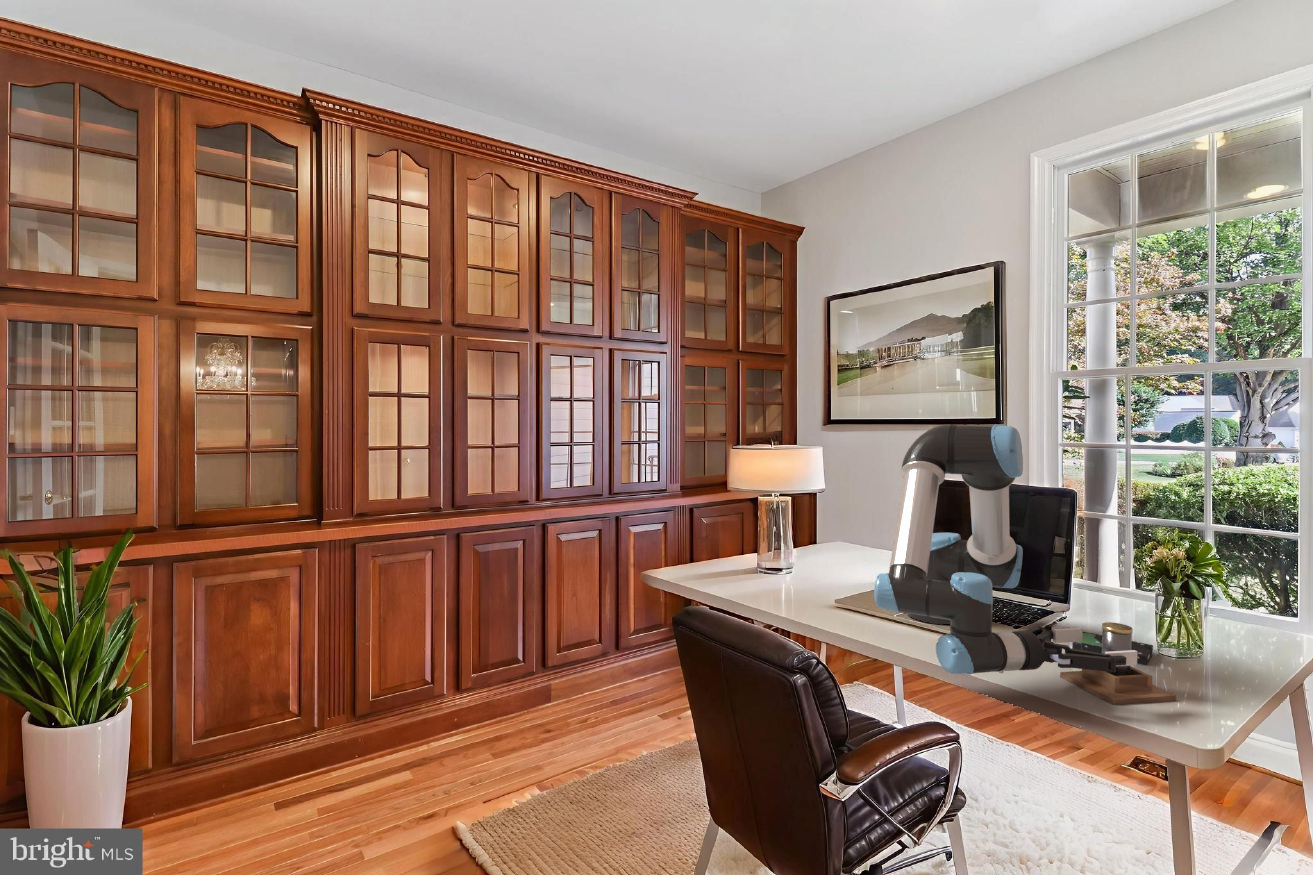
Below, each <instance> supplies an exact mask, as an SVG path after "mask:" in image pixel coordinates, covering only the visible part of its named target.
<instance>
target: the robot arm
mask: <svg viewBox="0 0 1313 875" xmlns="http://www.w3.org/2000/svg"><path fill="white" fill-rule="evenodd" d="M1023 471H1024V454H1023V445H1022V438H1021V435H1020V432H1019V431H1018V429H1017V428H1016V427H1014V426H1011V425H1000V424H994V425H992V424H991V425H989V424H983V425H982V424H941V425H937V426H933V427H932V428H929V429H928V430H927V431H925V432H923V433H922V434H921V435H919V436H918V438H916V439H915V441H913V443H912V444H911V446H909V448H908V449H907V451H906V453H905V455H904V457H903V460H902V463H901V470H900V474H901V477H902V478H903V479H904V480H903V485H902V489H901V490H902V493H901V496H900V503H899V509H898V515H897V521H896V527H895V534H894V538H893V539H894V540H893V546H892V551H891V557H890V563H889V570H888V573H886V572H885V573H878V575H877V576H876V579H875V581H874V582H875V583H874V592H873V593H874V594H873V595H874V603H875V605H876V606H877V607H878V608H879V609H881V610H885V611H889V612H893V613H896V614H899V613H901V614H906V615H907V614H908V615H909V616H910V617H909V616H908V615H907V616H908V617H909V618H911V617H912V618H911V619H913V618H914V619H913V620H916V619H917V620H916V621H919V620H921V621H920V622H922V621H923V622H924V623H927V622H929V623H928V624H934V625H943V624H950V626H949V633H946V634H943V635H940V636H939V637H938V638H937V642H936V644H935V654H936V657H937V660H938V663H939V664H940V666H941V667H942V669H943V670H944V671H946V672H947V673H949V674H954V675H959V674H962V675H963V674H964V675H972V674H980V673H981V674H983V673H997V672H998V673H1000V674H1004V672H1013V671H1035V670H1038V669H1039V668H1041V666H1042V665H1043V663H1044V662H1045V663H1051V664H1052V663H1057V668H1061V669H1077V670H1082V669H1087V670H1096V671H1106V672H1116V666H1131V667H1132V666H1137V665H1138V664H1137V651H1135V650H1128V651H1111V652H1105V654H1103V653H1097V652H1090V651H1084V650H1078V649H1072V647H1070V646H1069V645H1068V644H1061V643H1073V642H1081V641H1082V634H1083V632H1084V629H1083V628H1081V627H1076V628H1075V627H1073V628H1072V627H1071V628H1055V629H1052V628H1053V627H1052V625H1050V624H1045V626H1044V627H1045V628H1044V627H1043V626H1041V625H1036V626H1033V627H1031V628H1028V629H1025V630H1015V631H1008V630H1007V631H993V630H992V629H993V611H994V610H993V609H994V608H993V606H994V605H993V604H994V598H993V596H994V594H993V593H994V592H993V588H999V589H1003V588H1004V589H1014V588H1016V587H1017V586H1018V585H1019V583H1020V578H1021V571H1022V565H1023V556H1024V555H1023V554H1024V553H1023V551H1024V550H1023V547H1022V545H1019V544H1017V543H1016V542H1015V540H1014V538H1013V537H1011V535H1010V532H1011V531H1010V486H1011V485H1012V484H1013V483H1014V482H1015V480H1016V479H1017V477H1018V478H1019V477H1022V475H1023ZM947 474H949V475H960V476H961V478H962V480H963V482H964V483H965V484H966V485H967V486H968V488H969V502H970V518H971V533H972V534H971V535H970V537H969V538H968V539H966V540H965V539H961V538H962V537H961V535H960V534H959V533H957V532H956V533H955V532H934V526H935V518H936V509H937V502H938V494H939V487H940V485H941V484H942V483H943V482H944V481H945V478H946V475H947ZM1063 650H1064V652H1063Z"/></svg>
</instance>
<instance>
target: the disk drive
mask: <svg viewBox="0 0 1313 875" xmlns="http://www.w3.org/2000/svg"><path fill="white" fill-rule="evenodd" d="M1071 643H1072V644H1071V648H1072V649H1078V650H1084V651H1090V652H1097V653H1102V634H1098V633H1093V632H1088V631H1083V634H1082V641H1081V642H1071ZM1131 650H1135V651H1137V665H1142V666H1148V664H1149V662H1150V660H1151V658H1152V655H1153V654H1154V653H1153V652H1154V646H1153V644H1149V643H1144V642H1138V641H1133V640H1132V643H1131Z"/></svg>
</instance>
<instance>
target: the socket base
mask: <svg viewBox="0 0 1313 875" xmlns="http://www.w3.org/2000/svg"><path fill="white" fill-rule="evenodd" d="M1059 673H1060V674H1059V677H1061V678H1062V679H1064V680H1066V681H1067V682H1070V683H1072V684H1073V685H1075V686H1077V687H1079V688H1081V689H1083V690H1084V691H1087V692H1088V693H1090V694H1092V695H1094V696H1097V697H1098V698H1100V699H1102V700H1104V701H1106V702H1107V703H1110V704H1111V705H1113V706H1115V705H1128V704H1130V705H1131V704H1145V703H1157V702H1159V703H1160V702H1172V701H1176V700H1177V695H1176V694H1174V693H1172V692H1169V691H1167V690H1165V689H1162V688H1160V687H1158V686H1156V685H1154V684H1153V675H1150V674H1148V673H1146V672H1144V671H1142V670H1139V669H1137V668H1135V667H1133V666H1131V672H1130V675H1125V676H1114V675H1112V674H1110V673H1108V672H1106V671H1096V670H1087V669H1081V670H1073V671H1071V670H1070V671H1060V672H1059Z"/></svg>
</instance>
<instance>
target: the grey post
mask: <svg viewBox="0 0 1313 875" xmlns="http://www.w3.org/2000/svg"><path fill="white" fill-rule="evenodd" d="M1101 629H1102V634H1101V635H1102V653H1103V654H1105V652H1111V651H1128V650H1131V643H1132V641H1133V639H1132V638H1133V627H1131V626H1130V625H1127V624H1125V623H1118V622H1109V621H1107V622H1102V623H1101ZM1131 667H1132V665H1131V666H1116V672H1108V673H1110V674H1112V675H1114V676H1125V675H1130V672H1131Z"/></svg>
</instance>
